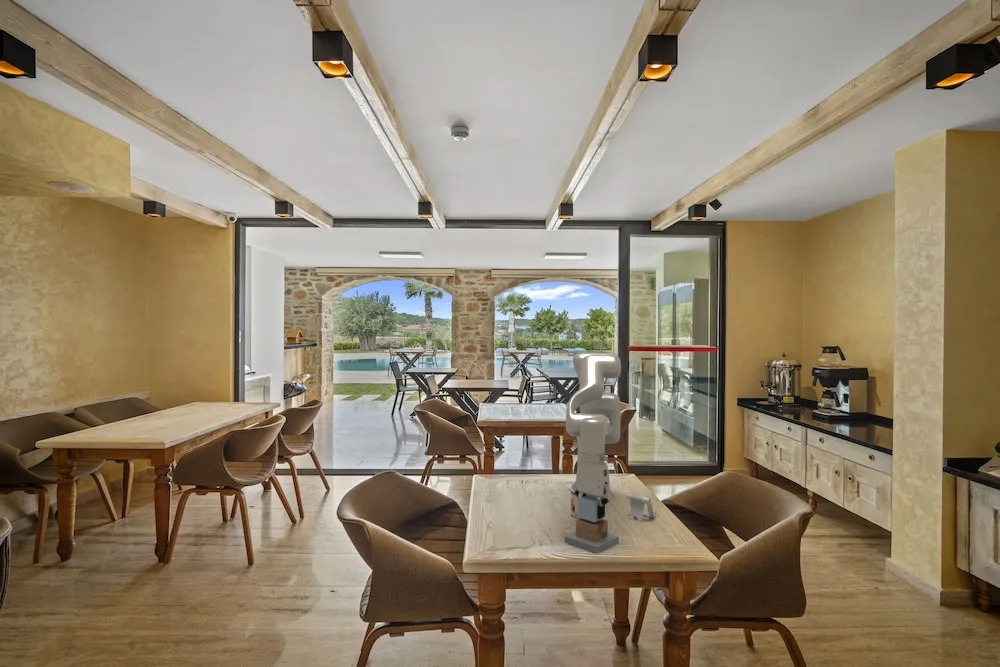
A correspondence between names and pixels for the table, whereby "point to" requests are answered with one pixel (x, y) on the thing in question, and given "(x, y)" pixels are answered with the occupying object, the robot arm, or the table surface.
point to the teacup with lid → (574, 504)
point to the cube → (588, 508)
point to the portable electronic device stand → (640, 507)
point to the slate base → (592, 546)
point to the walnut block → (591, 529)
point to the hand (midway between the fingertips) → (591, 514)
